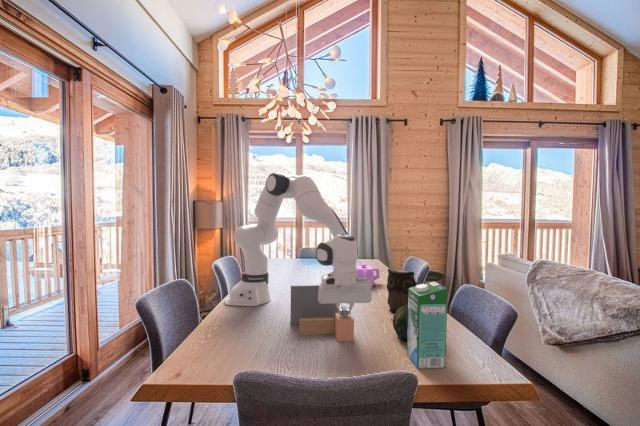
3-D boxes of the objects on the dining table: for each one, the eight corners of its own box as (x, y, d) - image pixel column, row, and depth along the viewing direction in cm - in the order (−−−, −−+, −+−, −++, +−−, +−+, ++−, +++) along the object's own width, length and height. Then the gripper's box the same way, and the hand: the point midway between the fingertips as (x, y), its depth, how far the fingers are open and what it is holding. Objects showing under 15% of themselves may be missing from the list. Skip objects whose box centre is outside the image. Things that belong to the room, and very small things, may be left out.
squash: (389, 314, 130) (395, 294, 119) (426, 316, 129) (436, 296, 119) (392, 348, 119) (400, 330, 109) (433, 351, 119) (444, 333, 109)
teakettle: (366, 289, 186) (366, 268, 185) (343, 283, 198) (344, 263, 197) (382, 284, 198) (383, 264, 197) (360, 279, 210) (361, 260, 209)
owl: (419, 317, 141) (420, 272, 141) (391, 317, 141) (392, 272, 140) (410, 307, 154) (411, 266, 153) (384, 307, 154) (385, 266, 153)
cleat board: (290, 334, 121) (291, 293, 121) (290, 319, 137) (290, 282, 136) (342, 333, 123) (343, 292, 123) (336, 318, 139) (337, 282, 138)
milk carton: (406, 354, 107) (408, 280, 106) (432, 354, 107) (434, 280, 106) (417, 369, 98) (419, 288, 97) (445, 368, 98) (447, 288, 97)
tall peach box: (337, 341, 116) (338, 311, 116) (334, 333, 123) (335, 305, 123) (353, 340, 117) (354, 311, 117) (350, 332, 124) (350, 304, 124)
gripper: (369, 275, 123) (369, 310, 124) (317, 276, 121) (316, 311, 122) (374, 279, 117) (373, 316, 118) (319, 280, 115) (318, 318, 116)
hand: (344, 314), depth 120 cm, fingers closed on tall peach box
